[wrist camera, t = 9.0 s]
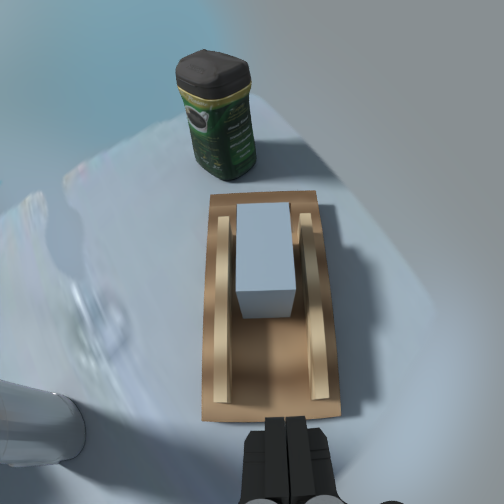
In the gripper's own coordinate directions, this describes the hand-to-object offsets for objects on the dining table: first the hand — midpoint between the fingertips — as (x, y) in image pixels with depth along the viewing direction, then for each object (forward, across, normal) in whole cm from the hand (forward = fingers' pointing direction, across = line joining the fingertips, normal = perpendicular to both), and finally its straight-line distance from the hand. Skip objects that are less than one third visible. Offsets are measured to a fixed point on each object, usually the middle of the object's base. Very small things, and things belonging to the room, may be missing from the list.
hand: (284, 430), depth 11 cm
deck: (+26, 0, -7) cm, 27 cm away
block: (+25, -1, -4) cm, 25 cm away
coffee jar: (+43, -6, +9) cm, 44 cm away
